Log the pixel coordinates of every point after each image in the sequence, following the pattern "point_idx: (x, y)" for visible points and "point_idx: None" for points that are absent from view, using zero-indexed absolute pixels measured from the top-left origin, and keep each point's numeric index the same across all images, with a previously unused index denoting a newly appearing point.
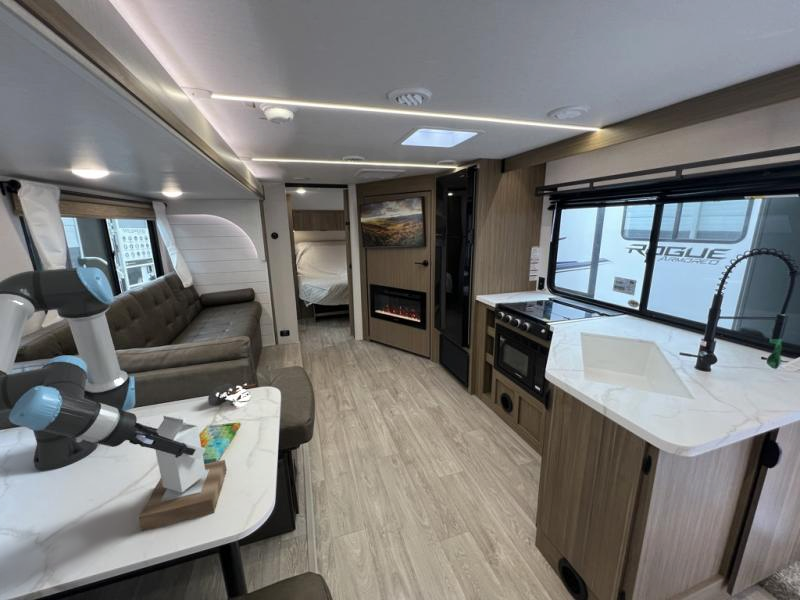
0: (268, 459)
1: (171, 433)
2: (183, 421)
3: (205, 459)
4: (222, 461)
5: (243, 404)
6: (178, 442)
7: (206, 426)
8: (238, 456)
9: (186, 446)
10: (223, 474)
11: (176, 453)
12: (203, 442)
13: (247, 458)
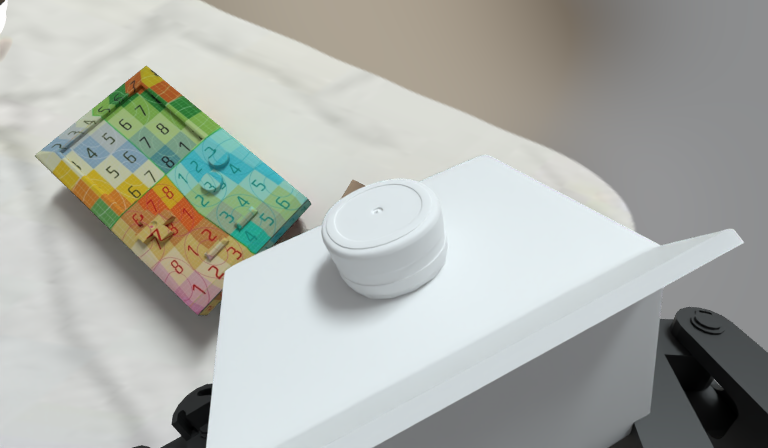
0: (401, 95)
1: (578, 419)
2: (689, 241)
3: (279, 227)
4: (356, 188)
5: (2, 20)
6: (667, 365)
7: (40, 159)
8: (309, 147)
9: (716, 315)
10: None
11: (732, 403)
12: (160, 201)
13: (344, 133)
